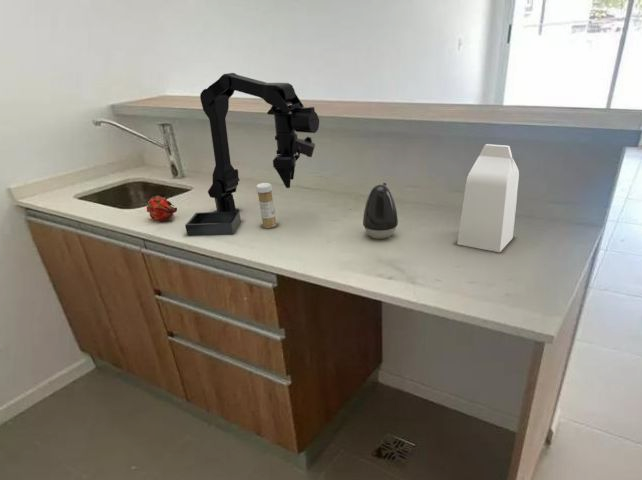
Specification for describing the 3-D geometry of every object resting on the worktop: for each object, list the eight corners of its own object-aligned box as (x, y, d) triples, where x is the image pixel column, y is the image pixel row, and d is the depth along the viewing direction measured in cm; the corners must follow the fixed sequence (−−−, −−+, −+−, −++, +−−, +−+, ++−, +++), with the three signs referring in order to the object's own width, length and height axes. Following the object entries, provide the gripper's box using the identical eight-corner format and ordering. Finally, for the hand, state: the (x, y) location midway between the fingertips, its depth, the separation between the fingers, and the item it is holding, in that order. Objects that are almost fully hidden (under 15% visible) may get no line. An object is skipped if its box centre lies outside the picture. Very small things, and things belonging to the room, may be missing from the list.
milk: (457, 244, 131) (465, 148, 117) (472, 230, 139) (481, 139, 125) (499, 252, 125) (514, 152, 111) (512, 237, 133) (527, 142, 119)
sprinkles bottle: (269, 222, 153) (263, 181, 146) (279, 224, 150) (274, 183, 143) (259, 227, 150) (253, 185, 143) (270, 229, 147) (263, 187, 140)
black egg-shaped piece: (401, 230, 141) (402, 180, 134) (393, 243, 133) (393, 191, 125) (368, 228, 145) (368, 178, 137) (359, 240, 136) (357, 189, 128)
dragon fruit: (156, 219, 166) (176, 230, 160) (135, 211, 159) (155, 223, 153) (165, 197, 165) (185, 207, 159) (145, 188, 158) (166, 199, 152)
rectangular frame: (198, 222, 156) (195, 212, 154) (240, 221, 155) (239, 211, 154) (187, 235, 146) (185, 225, 144) (233, 234, 146) (231, 223, 144)
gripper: (309, 136, 129) (313, 192, 138) (314, 124, 145) (317, 174, 153) (269, 137, 130) (275, 192, 138) (279, 125, 146) (284, 175, 154)
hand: (290, 183), depth 146 cm, fingers open, 9 cm apart
